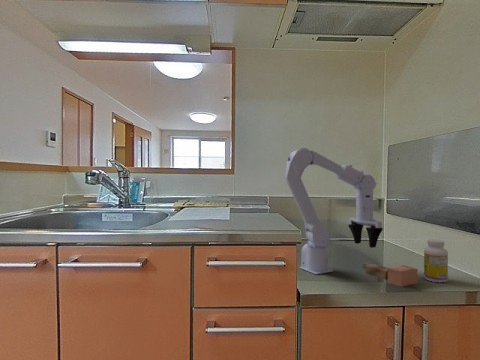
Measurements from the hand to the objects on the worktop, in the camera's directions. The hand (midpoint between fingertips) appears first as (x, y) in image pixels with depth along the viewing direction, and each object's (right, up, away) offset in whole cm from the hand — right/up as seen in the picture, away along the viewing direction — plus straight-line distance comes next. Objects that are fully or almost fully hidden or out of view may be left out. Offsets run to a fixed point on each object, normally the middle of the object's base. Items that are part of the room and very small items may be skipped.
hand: (365, 245), depth 120 cm
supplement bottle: (+18, -9, -12) cm, 24 cm away
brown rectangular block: (+2, -9, -7) cm, 12 cm away
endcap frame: (+3, -9, -8) cm, 12 cm away
